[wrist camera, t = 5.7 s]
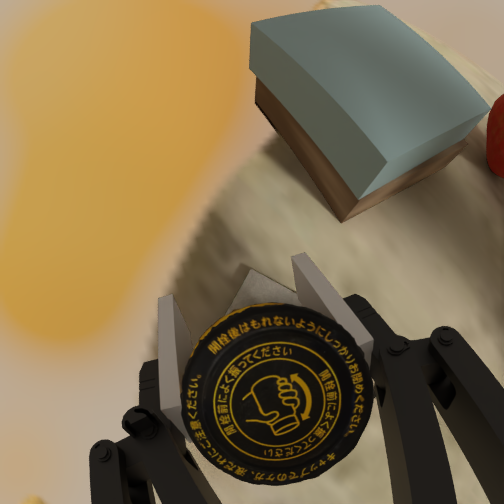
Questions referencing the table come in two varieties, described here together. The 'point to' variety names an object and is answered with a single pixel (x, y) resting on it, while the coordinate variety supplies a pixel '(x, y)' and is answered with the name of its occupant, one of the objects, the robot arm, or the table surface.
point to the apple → (496, 137)
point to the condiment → (275, 388)
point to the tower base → (324, 171)
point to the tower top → (364, 90)
